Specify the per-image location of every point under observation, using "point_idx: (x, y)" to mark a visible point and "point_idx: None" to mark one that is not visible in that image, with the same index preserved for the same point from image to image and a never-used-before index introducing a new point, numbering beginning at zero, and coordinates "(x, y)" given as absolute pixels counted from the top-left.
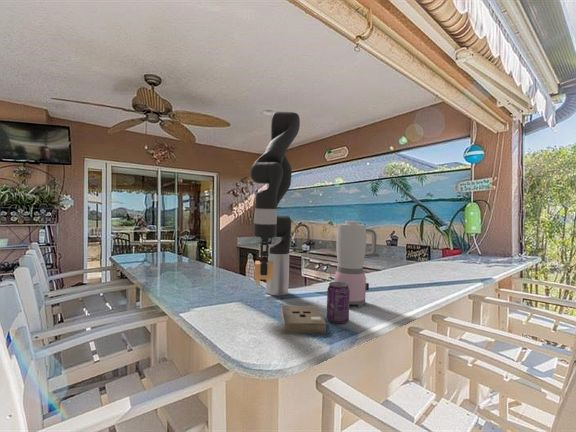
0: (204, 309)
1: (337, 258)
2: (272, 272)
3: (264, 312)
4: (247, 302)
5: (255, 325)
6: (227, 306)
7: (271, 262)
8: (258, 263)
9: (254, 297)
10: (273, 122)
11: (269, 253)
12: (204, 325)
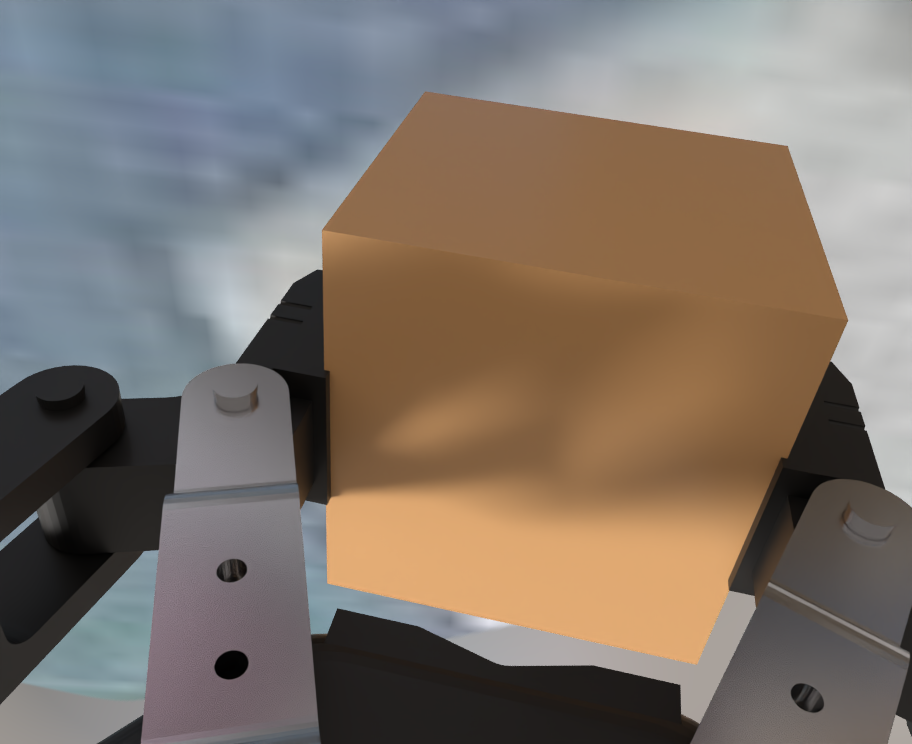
0: None
1: None
2: (808, 225)
3: (518, 40)
4: (191, 182)
5: (893, 189)
6: None
7: (534, 311)
8: (647, 599)
9: (7, 88)
10: None
11: (890, 710)
12: None
